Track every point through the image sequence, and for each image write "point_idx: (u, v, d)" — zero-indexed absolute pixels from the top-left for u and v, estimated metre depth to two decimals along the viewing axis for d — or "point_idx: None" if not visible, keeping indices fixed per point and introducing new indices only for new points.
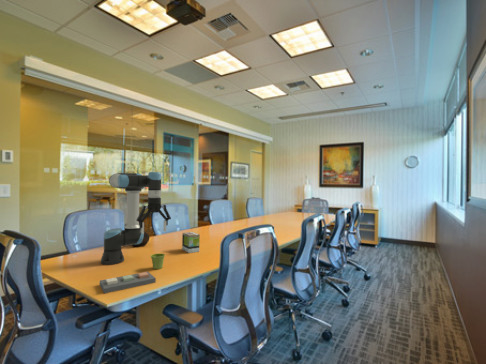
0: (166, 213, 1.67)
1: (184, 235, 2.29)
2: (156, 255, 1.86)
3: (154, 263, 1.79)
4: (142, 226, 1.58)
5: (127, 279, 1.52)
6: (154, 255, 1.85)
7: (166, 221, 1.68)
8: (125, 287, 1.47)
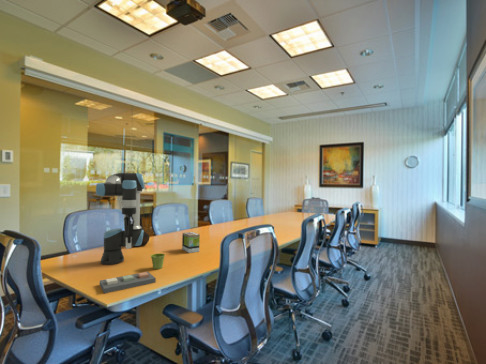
0: (128, 228, 1.51)
1: (184, 235, 2.29)
2: (156, 255, 1.86)
3: (154, 263, 1.79)
4: None
5: (127, 279, 1.52)
6: (154, 255, 1.85)
7: (127, 238, 1.53)
8: (125, 287, 1.47)
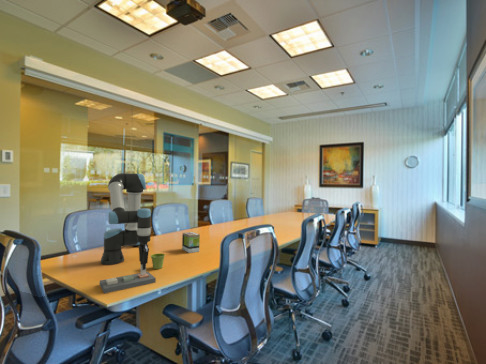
0: (143, 256, 1.56)
1: (184, 235, 2.29)
2: (156, 255, 1.86)
3: (154, 263, 1.79)
4: None
5: (127, 279, 1.52)
6: (154, 255, 1.85)
7: (142, 265, 1.58)
8: (125, 287, 1.47)
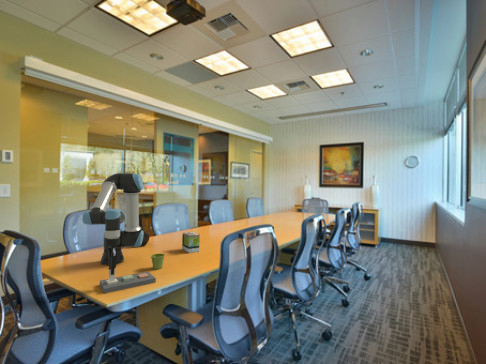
0: (111, 260, 1.45)
1: (184, 235, 2.29)
2: (156, 255, 1.86)
3: (154, 263, 1.79)
4: None
5: (127, 279, 1.52)
6: (154, 255, 1.85)
7: (110, 270, 1.48)
8: (125, 287, 1.47)
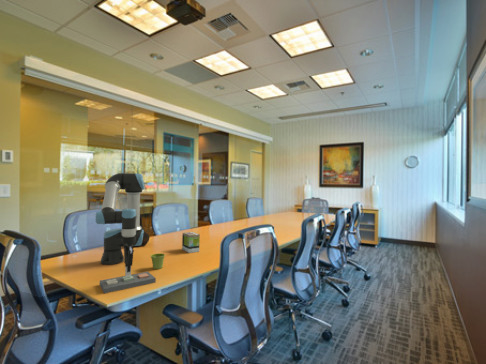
0: (127, 258, 1.51)
1: (184, 235, 2.29)
2: (156, 255, 1.86)
3: (154, 263, 1.79)
4: None
5: (127, 280, 1.52)
6: (154, 255, 1.85)
7: (127, 267, 1.53)
8: (125, 287, 1.47)
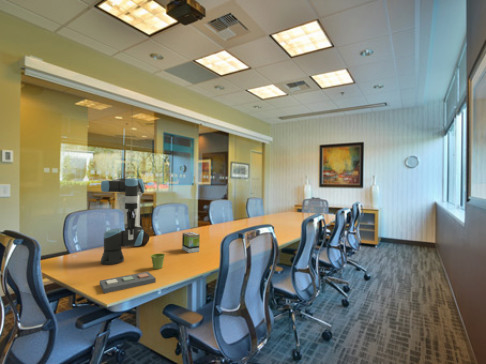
0: (130, 222, 1.67)
1: (184, 235, 2.29)
2: (156, 255, 1.86)
3: (154, 263, 1.79)
4: None
5: (127, 280, 1.52)
6: (154, 255, 1.85)
7: None
8: (125, 287, 1.47)
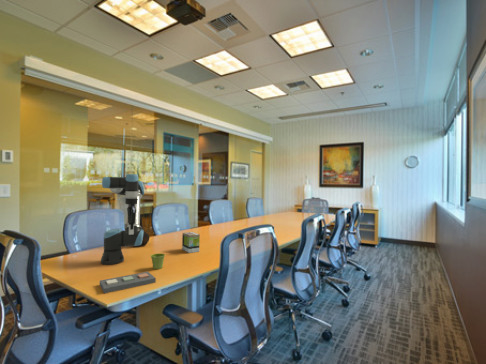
0: (131, 216, 1.71)
1: (184, 235, 2.29)
2: (156, 255, 1.86)
3: (154, 263, 1.79)
4: None
5: (127, 280, 1.52)
6: (154, 255, 1.85)
7: (130, 225, 1.73)
8: (125, 287, 1.47)
